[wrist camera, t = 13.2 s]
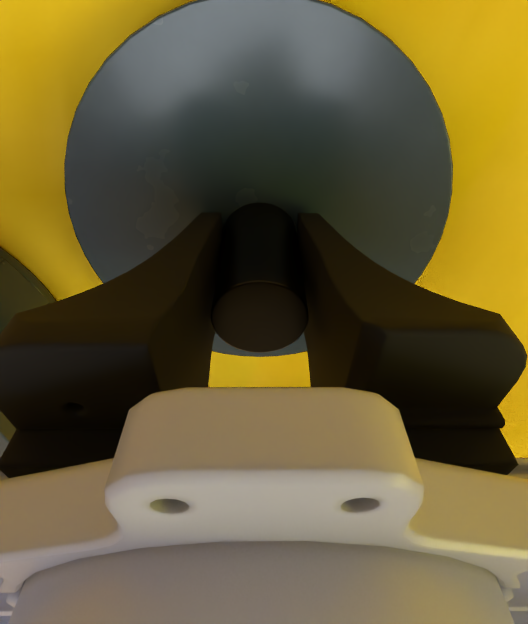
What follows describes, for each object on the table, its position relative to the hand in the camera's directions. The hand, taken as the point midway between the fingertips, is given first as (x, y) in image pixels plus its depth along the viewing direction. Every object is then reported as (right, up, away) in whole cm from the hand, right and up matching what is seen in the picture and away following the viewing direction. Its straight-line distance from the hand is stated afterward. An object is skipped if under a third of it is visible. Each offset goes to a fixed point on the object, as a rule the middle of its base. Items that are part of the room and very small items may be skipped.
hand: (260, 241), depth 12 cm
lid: (0, +1, +1) cm, 1 cm away
